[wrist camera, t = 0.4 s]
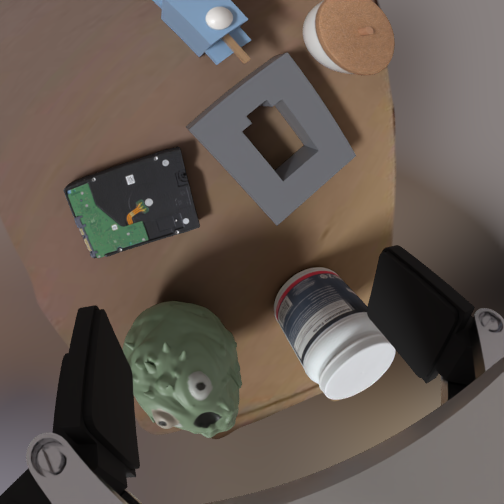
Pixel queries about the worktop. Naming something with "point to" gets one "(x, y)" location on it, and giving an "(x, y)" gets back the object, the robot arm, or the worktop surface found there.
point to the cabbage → (184, 368)
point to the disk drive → (133, 203)
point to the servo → (207, 26)
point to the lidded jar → (349, 36)
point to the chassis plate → (301, 121)
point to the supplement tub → (332, 333)
